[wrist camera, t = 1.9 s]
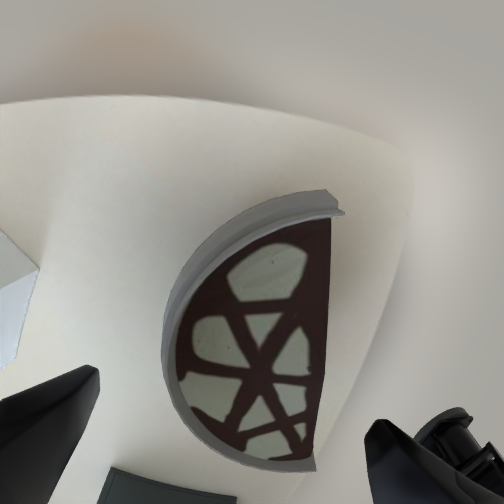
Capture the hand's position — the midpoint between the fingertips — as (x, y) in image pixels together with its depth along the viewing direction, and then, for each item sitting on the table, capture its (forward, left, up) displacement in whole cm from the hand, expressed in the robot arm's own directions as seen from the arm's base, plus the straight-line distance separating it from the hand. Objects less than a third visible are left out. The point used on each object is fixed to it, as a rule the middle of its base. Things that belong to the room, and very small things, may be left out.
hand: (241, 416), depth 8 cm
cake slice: (0, 0, -12) cm, 12 cm away
